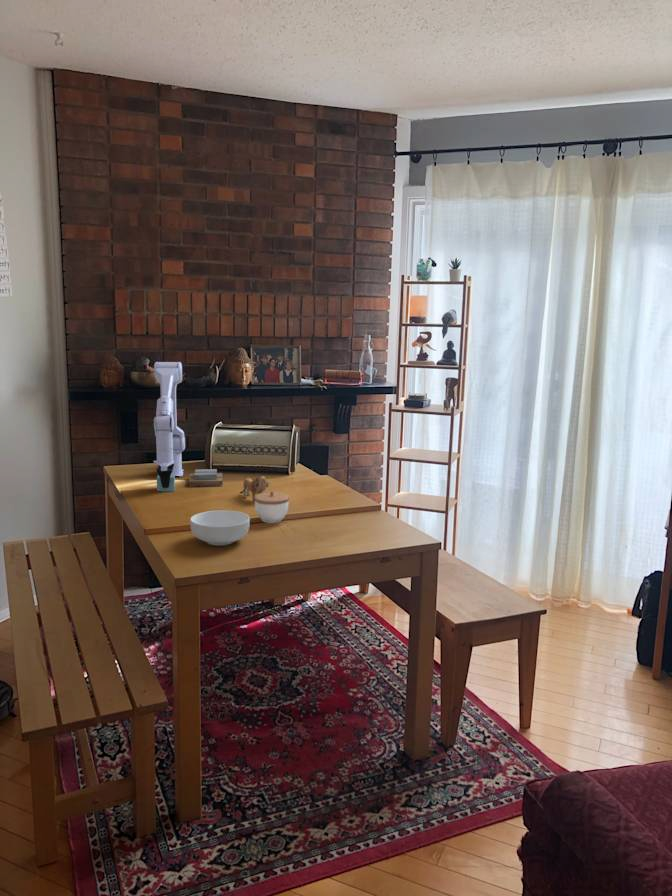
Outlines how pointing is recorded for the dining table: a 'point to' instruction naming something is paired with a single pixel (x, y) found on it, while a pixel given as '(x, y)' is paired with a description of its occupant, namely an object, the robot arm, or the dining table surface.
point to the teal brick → (171, 484)
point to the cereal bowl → (220, 526)
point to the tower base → (204, 482)
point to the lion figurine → (255, 486)
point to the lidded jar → (271, 506)
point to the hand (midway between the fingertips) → (166, 485)
